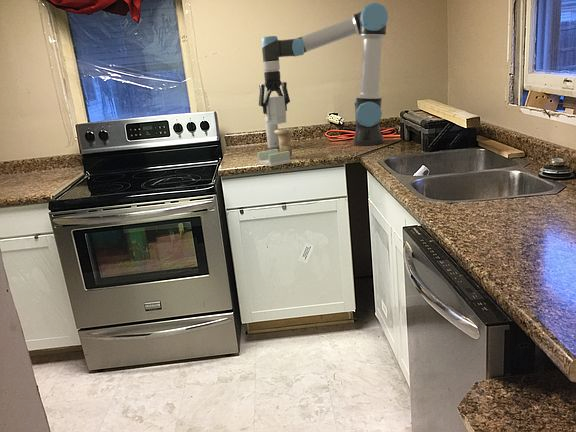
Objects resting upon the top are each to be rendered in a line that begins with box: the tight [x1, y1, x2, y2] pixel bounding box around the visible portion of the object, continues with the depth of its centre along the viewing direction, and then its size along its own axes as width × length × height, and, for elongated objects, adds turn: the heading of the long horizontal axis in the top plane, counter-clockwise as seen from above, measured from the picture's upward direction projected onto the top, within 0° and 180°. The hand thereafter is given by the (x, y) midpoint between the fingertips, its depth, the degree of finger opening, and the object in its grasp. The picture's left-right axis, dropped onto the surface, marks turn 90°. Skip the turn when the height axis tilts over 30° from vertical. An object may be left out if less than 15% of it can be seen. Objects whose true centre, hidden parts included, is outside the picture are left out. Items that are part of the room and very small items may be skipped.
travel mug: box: [264, 120, 280, 150], centre depth 271 cm, size 6×7×20 cm
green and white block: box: [256, 148, 291, 167], centre depth 234 cm, size 10×12×5 cm
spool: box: [274, 128, 297, 160], centre depth 242 cm, size 9×9×13 cm
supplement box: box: [265, 95, 287, 125], centre depth 248 cm, size 7×7×13 cm
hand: (275, 119), depth 250 cm, fingers closed on supplement box, 9 cm apart
